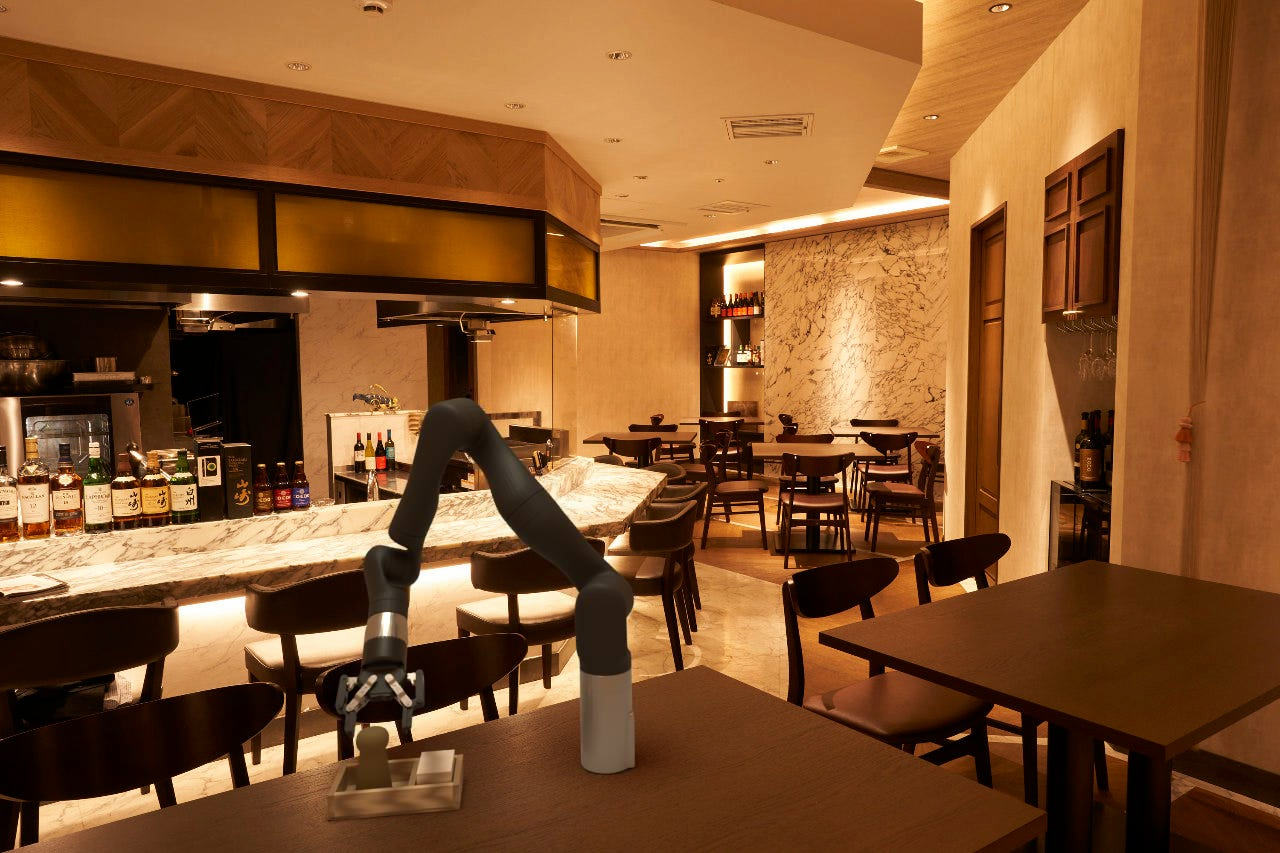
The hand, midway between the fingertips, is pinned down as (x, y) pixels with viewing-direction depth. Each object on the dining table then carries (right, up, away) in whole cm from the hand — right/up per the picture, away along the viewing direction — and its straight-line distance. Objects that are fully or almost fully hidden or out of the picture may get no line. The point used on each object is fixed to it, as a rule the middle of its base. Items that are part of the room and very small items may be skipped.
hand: (377, 734), depth 135 cm
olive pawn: (0, -10, -1) cm, 10 cm away
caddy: (+4, -10, -1) cm, 11 cm away
